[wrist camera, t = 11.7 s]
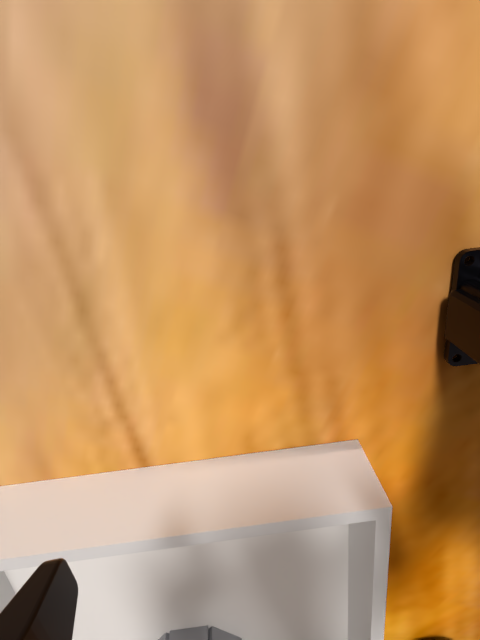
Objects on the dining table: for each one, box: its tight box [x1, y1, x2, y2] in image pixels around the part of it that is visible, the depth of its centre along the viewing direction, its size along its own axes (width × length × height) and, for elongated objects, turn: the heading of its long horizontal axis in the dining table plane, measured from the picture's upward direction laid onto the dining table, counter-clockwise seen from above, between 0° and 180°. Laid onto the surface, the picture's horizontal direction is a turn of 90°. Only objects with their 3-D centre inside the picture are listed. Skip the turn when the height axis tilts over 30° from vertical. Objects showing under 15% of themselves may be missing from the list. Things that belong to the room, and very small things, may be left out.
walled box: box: [0, 439, 392, 640], centre depth 26 cm, size 24×24×5 cm
